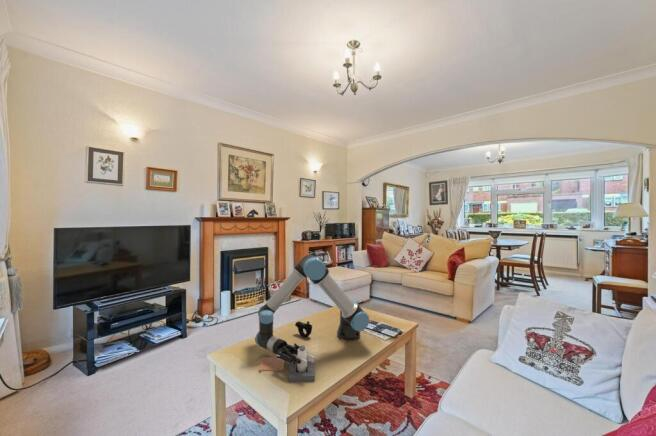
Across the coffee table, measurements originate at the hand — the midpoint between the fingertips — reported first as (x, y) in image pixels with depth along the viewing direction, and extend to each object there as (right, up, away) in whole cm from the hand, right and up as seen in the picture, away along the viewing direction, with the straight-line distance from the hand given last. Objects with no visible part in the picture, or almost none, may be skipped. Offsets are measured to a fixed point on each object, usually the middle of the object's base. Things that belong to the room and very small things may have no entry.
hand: (310, 361), depth 131 cm
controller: (-7, -8, +47) cm, 48 cm away
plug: (-4, -8, +3) cm, 10 cm away
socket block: (-4, -8, +3) cm, 10 cm away
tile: (-20, -8, +12) cm, 25 cm away
